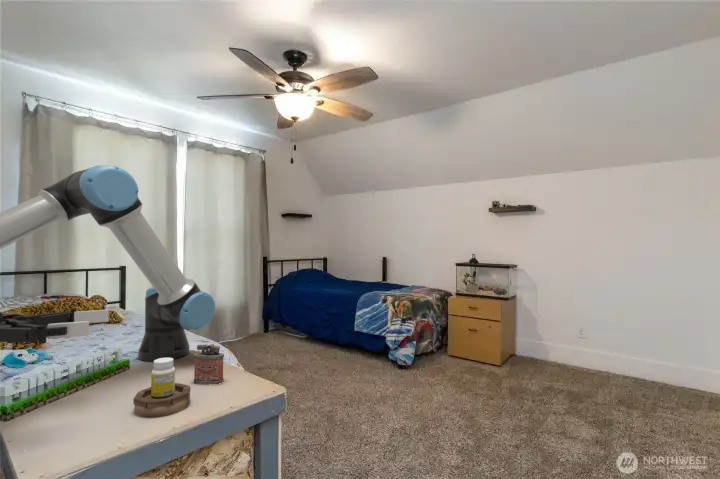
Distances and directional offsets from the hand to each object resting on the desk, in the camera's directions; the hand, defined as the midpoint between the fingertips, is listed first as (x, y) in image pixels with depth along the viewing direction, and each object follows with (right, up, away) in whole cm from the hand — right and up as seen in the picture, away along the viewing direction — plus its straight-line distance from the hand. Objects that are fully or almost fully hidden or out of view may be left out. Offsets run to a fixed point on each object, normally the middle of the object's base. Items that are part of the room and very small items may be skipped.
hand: (99, 321), depth 80 cm
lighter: (+16, -21, +18) cm, 32 cm away
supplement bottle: (+12, -18, +3) cm, 22 cm away
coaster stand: (+12, -20, +3) cm, 24 cm away
